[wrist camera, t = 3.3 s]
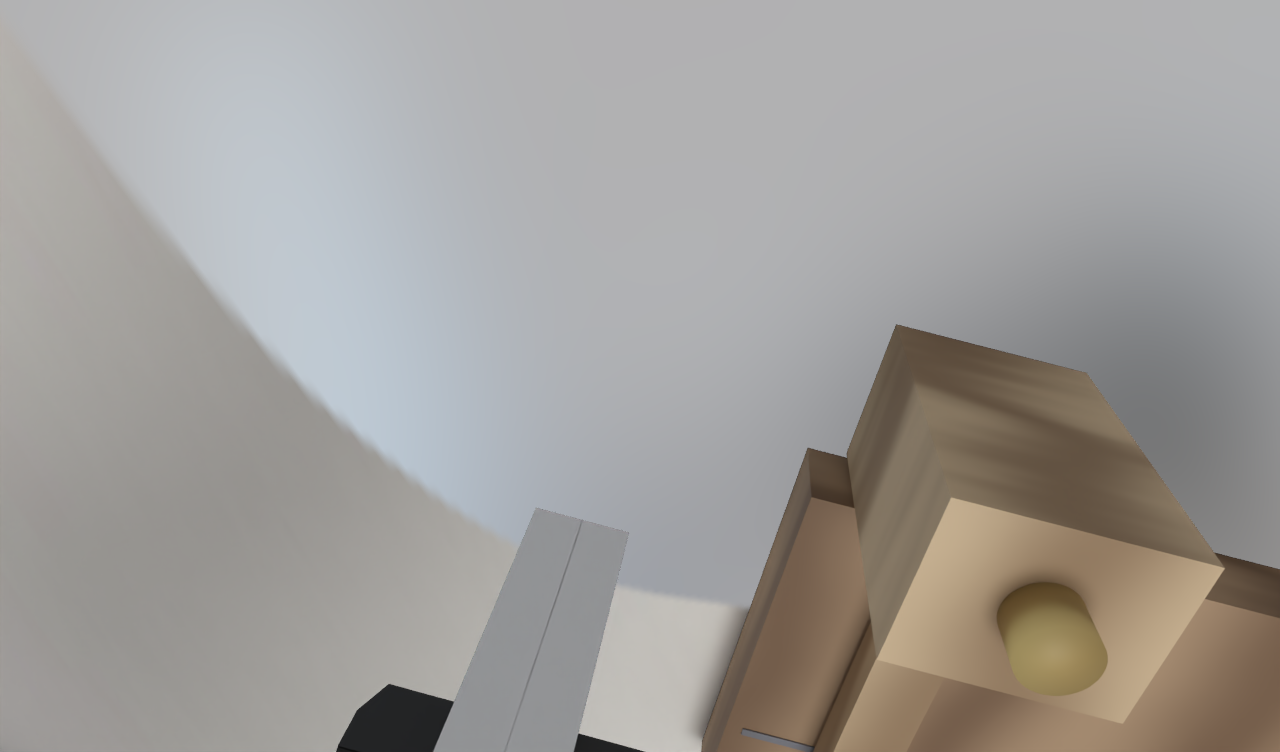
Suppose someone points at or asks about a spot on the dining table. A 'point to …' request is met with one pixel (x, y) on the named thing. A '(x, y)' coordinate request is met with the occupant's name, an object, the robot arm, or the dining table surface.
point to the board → (964, 713)
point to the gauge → (1006, 543)
